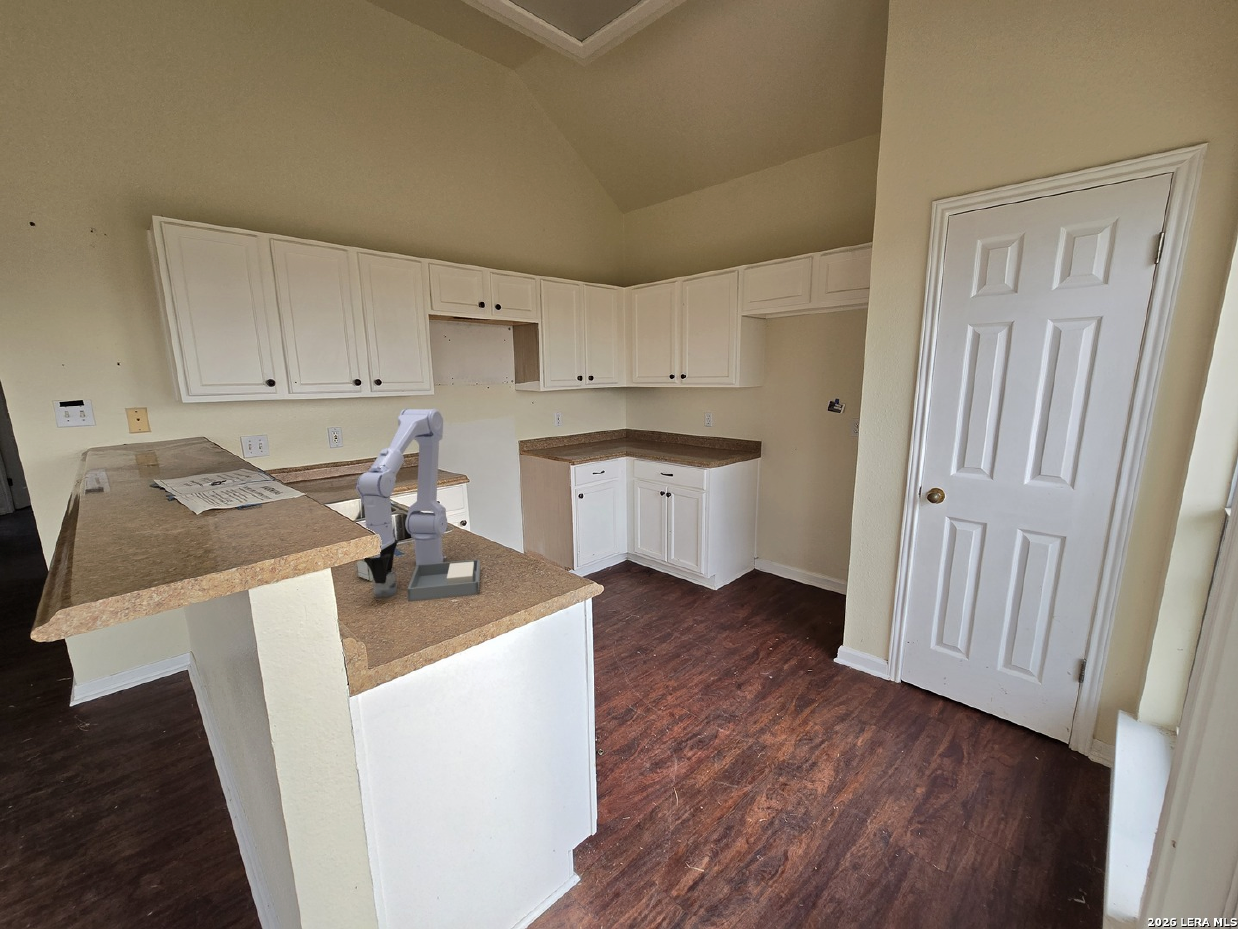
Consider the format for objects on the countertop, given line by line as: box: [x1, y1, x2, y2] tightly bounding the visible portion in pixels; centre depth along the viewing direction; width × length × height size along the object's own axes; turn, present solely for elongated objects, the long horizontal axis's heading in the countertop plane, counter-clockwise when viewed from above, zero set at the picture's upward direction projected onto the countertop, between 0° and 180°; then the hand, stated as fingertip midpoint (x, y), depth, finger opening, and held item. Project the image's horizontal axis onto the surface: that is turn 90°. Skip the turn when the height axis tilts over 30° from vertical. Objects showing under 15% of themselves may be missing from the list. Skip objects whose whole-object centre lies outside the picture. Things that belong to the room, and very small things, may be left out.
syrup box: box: [355, 521, 373, 582], centre depth 139 cm, size 6×6×14 cm
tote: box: [406, 558, 481, 602], centre depth 132 cm, size 16×16×4 cm
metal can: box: [372, 569, 398, 599], centre depth 126 cm, size 5×5×6 cm
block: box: [447, 562, 475, 584], centre depth 132 cm, size 10×6×4 cm, turn 13°
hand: (384, 576), depth 126 cm, fingers open, 7 cm apart
